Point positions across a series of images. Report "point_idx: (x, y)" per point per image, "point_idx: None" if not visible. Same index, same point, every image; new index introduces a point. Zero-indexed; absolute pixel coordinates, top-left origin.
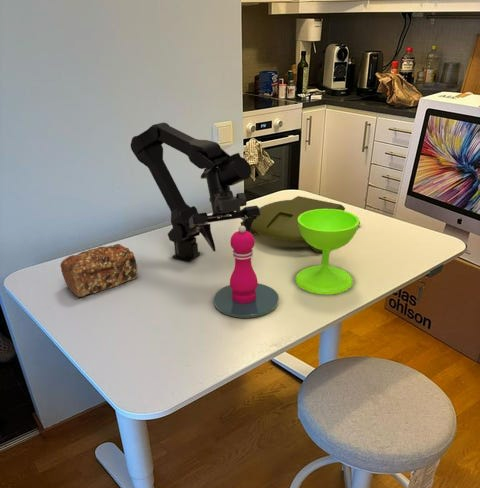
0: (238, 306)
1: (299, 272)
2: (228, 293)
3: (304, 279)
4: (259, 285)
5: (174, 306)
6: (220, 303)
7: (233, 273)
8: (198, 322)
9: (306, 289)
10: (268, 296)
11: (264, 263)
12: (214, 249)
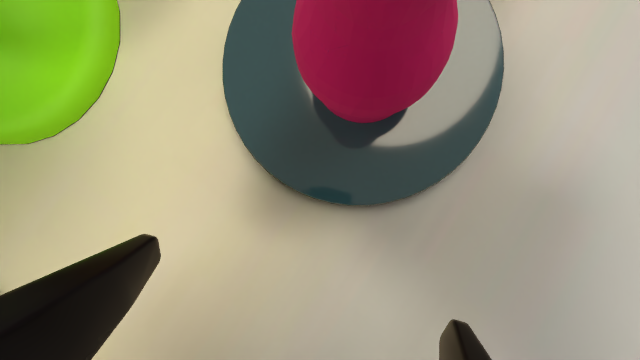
0: None
1: (47, 119)
2: (400, 142)
3: (70, 52)
4: (250, 120)
5: (631, 220)
6: (477, 89)
7: (454, 8)
8: (609, 48)
9: (112, 3)
10: (275, 19)
11: None
12: (467, 330)
